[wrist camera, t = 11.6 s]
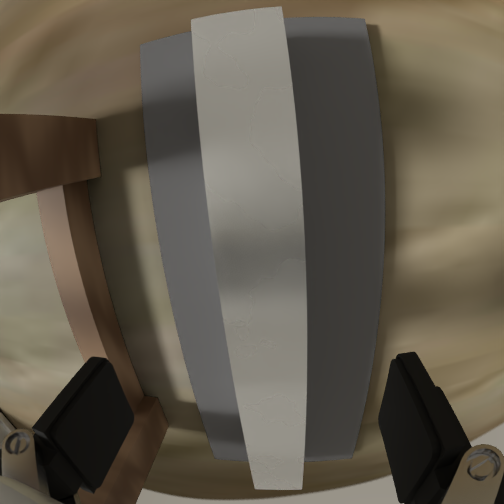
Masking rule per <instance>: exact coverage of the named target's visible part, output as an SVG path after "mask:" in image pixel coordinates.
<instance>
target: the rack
mask: <svg viewBox="0 0 504 504" xmlns="http://www.w3.org/2000/svg"><path fill="white" fill-rule="evenodd" d="M98 177H101V170H100V161H99V152H98V141H97V128H96V119H88V118H77V117H65V116H50V115H27V114H0V202H3V201H6V200H10V199H14V198H17V197H21V196H25V195H28V194H32V193H37V199H38V206H39V211H40V217H41V222H42V227H43V232H44V237H45V241H46V246H47V250H48V254H49V258H50V262H51V266H52V270H53V273H54V277H55V280H56V284H57V287H58V291H59V294H60V297H61V300H62V303H63V306H64V309H65V312H66V315H67V318H68V321H69V324H70V326H71V329H72V332H73V334H74V337H75V340H76V342H77V345H78V347H79V350H80V352H81V354H82V357H83V359H84V361H85V363H86V362H87V361H88V359H89V358H90V357H92V356H95V357H103V358H107V359H108V360H109V362H110V363H112V365H113V367H114V369H115V372H116V374H117V377H118V379H119V382H120V384H121V386H122V389H123V391H124V393H125V396H126V398H127V400H128V402H129V405H130V407H131V409H132V411H133V413H134V423H133V425H132V427H131V429H130V430H129V432H128V434H127V436H126V438H125V440H124V442H123V444H122V446H121V448H120V450H119V452H118V454H117V456H116V458H115V460H114V461H113V463H112V465H111V467H110V469H109V471H108V473H107V475H106V477H105V479H104V481H103V483H102V485H101V487H99V488H97V489H96V491H95V493H94V494H93V493H90V492H87V491H85V490H82V489H81V488H79V490H78V494H79V497H80V501H81V504H136V502H137V499H138V497H139V495H140V492H141V490H142V488H143V485H144V483H145V481H146V478H147V476H148V473H149V471H150V469H151V466H152V464H153V462H154V459H155V457H156V455H157V452H158V450H159V448H160V445H161V443H162V441H163V439H164V436H165V434H166V432H167V429H168V427H169V425H168V422H167V420H166V418H165V415H164V413H163V410H162V408H161V405H160V403H159V400H158V398H156V397H149V396H144V394H143V391H142V389H141V386H140V384H139V381H138V379H137V376H136V373H135V371H134V368H133V365H132V363H131V360H130V357H129V354H128V351H127V349H126V346H125V343H124V340H123V337H122V334H121V331H120V327H119V324H118V321H117V318H116V314H115V311H114V308H113V304H112V301H111V297H110V293H109V290H108V286H107V282H106V278H105V274H104V270H103V266H102V262H101V257H100V253H99V248H98V244H97V239H96V234H95V229H94V224H93V218H92V212H91V206H90V200H89V194H88V187H87V180H89V179H93V178H98Z"/></svg>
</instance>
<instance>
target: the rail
mask: <svg viewBox="0 0 504 504" xmlns="http://www.w3.org/2000/svg"><path fill="white" fill-rule="evenodd" d="M191 30H192V46H193V61H194V75H195V88H196V100H197V112H198V123H199V133H200V143H201V153H202V163H203V172H204V181H205V190H206V198H207V207H208V215H209V223H210V231H211V239H212V246H213V254H214V261H215V268H216V275H217V282H218V289H219V296H220V302H221V309H222V315H223V322H224V328H225V334H226V341H227V347H228V353H229V359H230V364H231V370H232V376H233V382H234V387H235V393H236V398H237V404H238V409H239V414H240V419H241V425H242V430H243V435H244V440H245V445H246V450H247V455H248V459H249V464H250V469H251V474H252V478H253V483H254V487H255V489H264V490H302V484H303V469H304V451H305V430H306V400H307V289H306V257H305V234H304V215H303V198H302V183H301V170H300V157H299V145H298V134H297V124H296V114H295V104H294V95H293V86H292V78H291V70H290V62H289V54H288V47H287V39H286V33H285V26H284V19H283V13H282V7H269V8H258V9H249V10H242V11H234V12H228V13H222V14H216V15H211V16H206V17H201V18H196V19H191Z"/></svg>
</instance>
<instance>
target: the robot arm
mask: <svg viewBox="0 0 504 504" xmlns="http://www.w3.org/2000/svg"><path fill="white" fill-rule="evenodd" d="M378 422H379V427H380V430H381V434H382V437H383V441H384V445H385V449H386V452H387V456H388V460H389V464H390V468H391V472H392V476H393V480H394V484H395V488H396V493H397V497H398V501H399V502H400V503H404V504H504V456H503V454H502V453H501V451H500V450H498V449H497V448H496V447H494V446H491V445H486V444H481V445H476V446H474V447H472V446H471V445H470V442H469V440H468V438H467V436H466V434H465V432H464V430H463V428H462V426H461V424H460V422H459V421H458V419H457V417H456V415H455V413H454V411H453V409H452V407H451V405H450V404H449V402H448V400H447V398H446V396H445V395H444V393H443V391H442V390H441V388H440V387H438V386H436V387H435V385H434V383H433V381H432V380H431V378H430V376H429V374H428V373H427V371H426V369H425V367H424V366H423V364H422V362H421V360H420V359H419V357H418V355H417V354H416V353H415V352H408V353H402V354H398V355H397V356H396V359H393V360H392V361H391V364H390V369H389V374H388V379H387V383H386V388H385V392H384V396H383V400H382V404H381V408H380V412H379V417H378ZM133 423H134V413H133V411H132V409H131V407H130V405H129V402H128V400H127V398H126V396H125V393H124V391H123V389H122V386H121V384H120V382H119V379H118V377H117V374H116V372H115V369H114V367H113V365H112V363H110V362H109V360H108V359H107V358H103V357H95V356H92V357H90V358H89V359H88V361H87V362H86V363H85V364H84V365H83V366H82V367H81V369H80V370H79V371H78V372H77V373H76V375H75V376H74V377H73V378H72V379H71V380H70V382H69V383H68V384H67V385H66V386H65V388H64V389H63V390H62V391H61V392H60V394H59V395H58V396H57V397H56V398H55V400H54V401H53V402H52V403H51V405H50V406H49V407H48V408H47V410H46V411H45V412H44V413H43V415H42V416H41V417H40V418H39V420H38V421H37V422H36V423H35V425H34V426H33V427H32V429H33V430H34V432H35V434H34V436H33V435H32V434H31V432H30V431H28V430H26V429H15V428H14V427H13V426H12V424H11V423H10V422H9V421H8V420H7V419H6V417H5V416H4V415H3V414H2V413H1V412H0V504H81V501H80V497H79V494H78V490H79V488H81V489H82V490H85V491H87V492H90V493H93V494H94V493H95V491H96V489H97V488H99V487H101V485H102V483H103V481H104V479H105V477H106V475H107V473H108V471H109V469H110V467H111V465H112V463H113V461H114V460H115V458H116V456H117V454H118V452H119V450H120V448H121V446H122V444H123V442H124V440H125V438H126V436H127V434H128V432H129V430H130V429H131V427H132V425H133Z"/></svg>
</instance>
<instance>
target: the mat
mask: <svg viewBox="0 0 504 504" xmlns="http://www.w3.org/2000/svg"><path fill="white" fill-rule="evenodd" d="M283 19H284V26H285V33H286V39H287V47H288V54H289V62H290V70H291V78H292V86H293V95H294V104H295V114H296V124H297V134H298V145H299V157H300V170H301V183H302V198H303V215H304V234H305V257H306V289H307V400H306V430H305V451H304V462H311V461H327V460H339V459H349V458H352V456H353V453H354V449H355V445H356V442H357V438H358V434H359V430H360V425H361V421H362V417H363V412H364V408H365V403H366V398H367V393H368V388H369V383H370V377H371V371H372V366H373V359H374V353H375V346H376V339H377V331H378V323H379V314H380V305H381V294H382V281H383V266H384V245H385V174H384V154H383V139H382V127H381V116H380V107H379V98H378V91H377V83H376V76H375V70H374V64H373V58H372V52H371V47H370V42H369V37H368V32H367V27H366V23H365V19H359V18H340V17H298V18H283ZM140 61H141V87H142V104H143V118H144V131H145V141H146V151H147V161H148V170H149V178H150V186H151V193H152V200H153V207H154V214H155V221H156V227H157V233H158V239H159V245H160V250H161V256H162V261H163V267H164V272H165V277H166V282H167V287H168V292H169V296H170V301H171V306H172V310H173V315H174V319H175V323H176V328H177V332H178V336H179V340H180V344H181V348H182V352H183V356H184V360H185V363H186V367H187V371H188V374H189V378H190V382H191V385H192V389H193V392H194V395H195V399H196V402H197V406H198V409H199V412H200V415H201V419H202V422H203V425H204V428H205V431H206V434H207V437H208V440H209V443H210V446H211V449H212V452H213V455H214V457H215V459H221V460H233V461H249V459H248V455H247V450H246V445H245V440H244V435H243V430H242V425H241V419H240V414H239V409H238V404H237V398H236V393H235V387H234V382H233V376H232V370H231V364H230V359H229V353H228V347H227V341H226V334H225V328H224V322H223V315H222V309H221V302H220V296H219V289H218V282H217V275H216V268H215V261H214V254H213V246H212V239H211V231H210V223H209V215H208V207H207V198H206V190H205V181H204V172H203V163H202V153H201V143H200V133H199V123H198V112H197V100H196V88H195V75H194V61H193V46H192V31H190V32H185V33H181V34H177V35H173V36H169V37H165V38H162V39H158V40H155V41H151V42H148V43H144V44H141V45H140Z"/></svg>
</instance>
